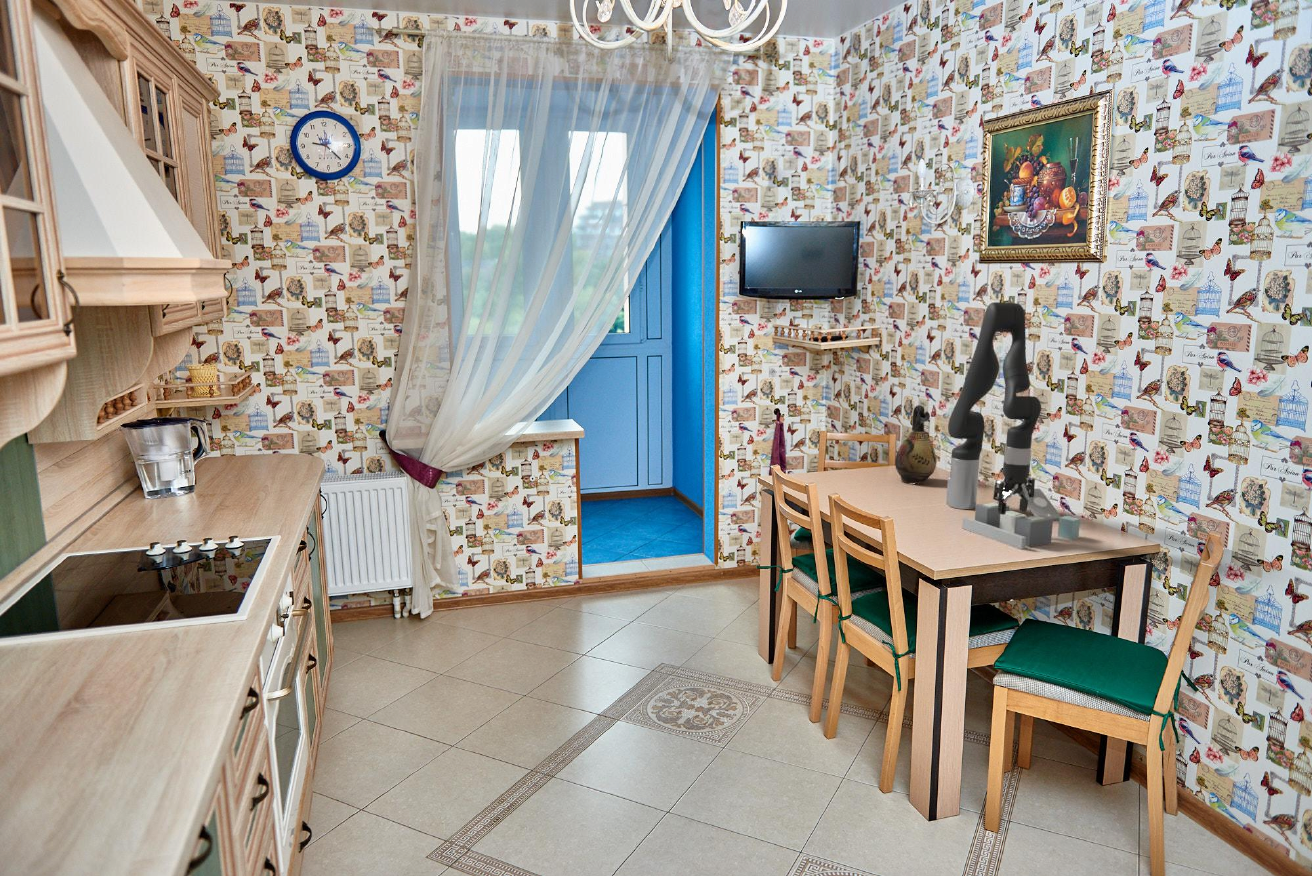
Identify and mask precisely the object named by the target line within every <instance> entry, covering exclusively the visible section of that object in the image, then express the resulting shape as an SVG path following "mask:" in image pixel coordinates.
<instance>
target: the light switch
mask: <svg viewBox="0 0 1312 876" xmlns="http://www.w3.org/2000/svg"><path fill="white" fill-rule="evenodd" d="M1029 493H1030V489H1029ZM1018 496H1019V497H1020V495H1019V494H1018ZM1027 509H1029V511H1030V512H1031V513H1032V515H1033V516H1038V515H1041V516H1044V517H1047V518H1051V519H1053V521H1059V518H1060V517H1062V516H1061V514H1060V513H1059V512H1058V510H1057V509H1056V507H1054V505H1053V504H1052V503H1051V501H1050V500H1049V499H1048V498H1047V496H1046V494H1045V493H1044V492H1043V491H1042V490H1041V489H1040V488H1034V497H1031V498H1029V500H1028V506H1027Z"/></svg>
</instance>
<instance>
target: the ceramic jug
mask: <svg viewBox="0 0 1312 876" xmlns="http://www.w3.org/2000/svg"><path fill="white" fill-rule="evenodd" d="M930 416H931V415H930V413H929V411H925V407H924V406H923V405H921V404H917V405H916V406H914V409H913V412H912V424H911V425H912V426H911V432H910V433H909V434H908V435H907V436H906V437H905V439H904V440H903V441H902V442H901V444H900V446H899V448H898V449H897V453H896V455H895V460H894V465H895V469H896V472H897V473H898V475H899V476H900V481H901V482H902V483H903V482H904V484H909V483H915V484H914V485H921V484H920V483H924V484H926V482H927V480H928V479H929V478H930V477H931V476H932V475H933V474H934V472H935V470H936V467H937V466H936V465H937V457H936V456H937V455H936V452H935V448H934V445H933V444H932V441H931V439H930V438H929V436H928V434H927V432H926V430H925V422H927V421H929V420H930Z"/></svg>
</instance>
